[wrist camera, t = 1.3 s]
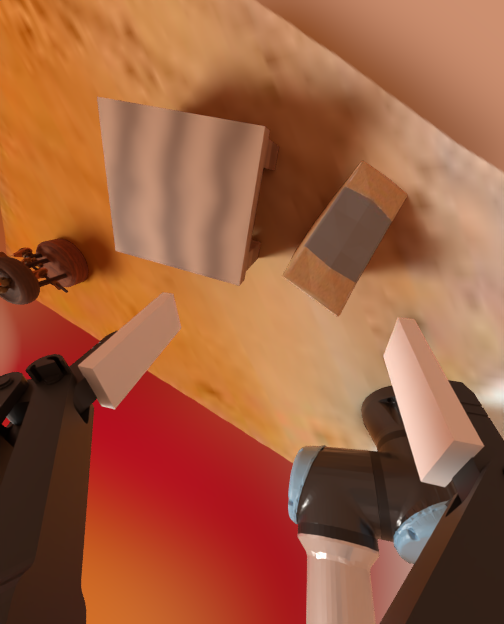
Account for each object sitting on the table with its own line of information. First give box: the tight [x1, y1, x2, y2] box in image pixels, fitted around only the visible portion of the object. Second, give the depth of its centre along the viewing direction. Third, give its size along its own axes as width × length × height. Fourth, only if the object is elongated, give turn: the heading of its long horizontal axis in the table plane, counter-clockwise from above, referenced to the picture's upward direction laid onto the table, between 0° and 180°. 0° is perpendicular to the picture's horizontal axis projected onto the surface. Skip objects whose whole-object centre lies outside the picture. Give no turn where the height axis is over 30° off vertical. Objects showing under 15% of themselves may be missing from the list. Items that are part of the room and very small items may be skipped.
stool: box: [97, 97, 279, 286], centre depth 35 cm, size 20×18×12 cm
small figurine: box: [0, 239, 88, 304], centre depth 48 cm, size 15×11×20 cm
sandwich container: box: [282, 161, 408, 317], centre depth 31 cm, size 9×15×15 cm, turn 148°
